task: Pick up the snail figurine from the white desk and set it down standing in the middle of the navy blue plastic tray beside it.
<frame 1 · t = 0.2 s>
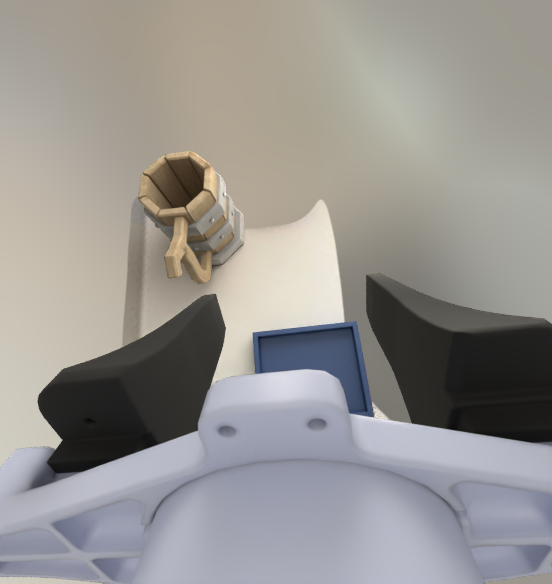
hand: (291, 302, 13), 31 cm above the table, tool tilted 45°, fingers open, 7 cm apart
tray: (309, 372, 42), on the table
tankard: (209, 252, 50), on the table
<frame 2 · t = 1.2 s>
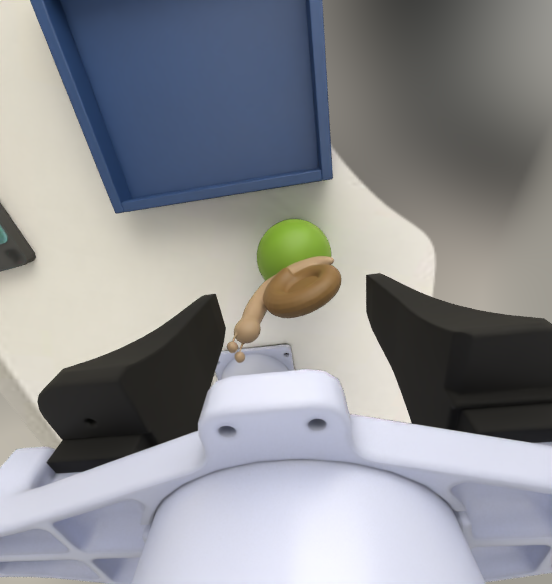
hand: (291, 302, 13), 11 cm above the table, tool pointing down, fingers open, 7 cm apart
snail figurine: (287, 247, 23), on the table
tray: (203, 90, 19), on the table
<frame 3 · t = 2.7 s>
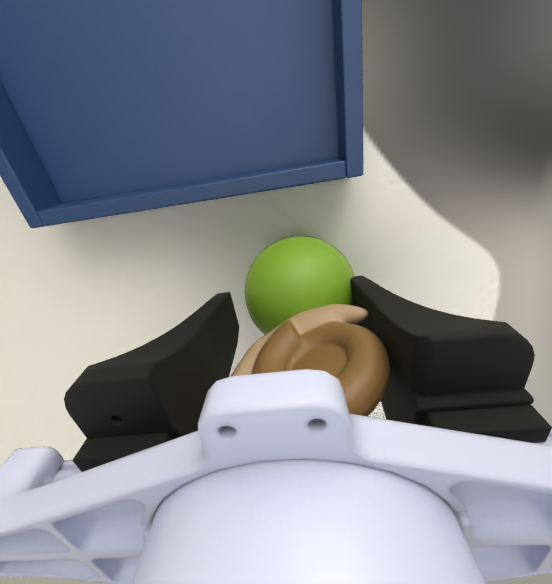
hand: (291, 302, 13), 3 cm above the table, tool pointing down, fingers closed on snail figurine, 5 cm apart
snail figurine: (289, 271, 17), on the table, touching gripper
tray: (156, 31, 11), on the table
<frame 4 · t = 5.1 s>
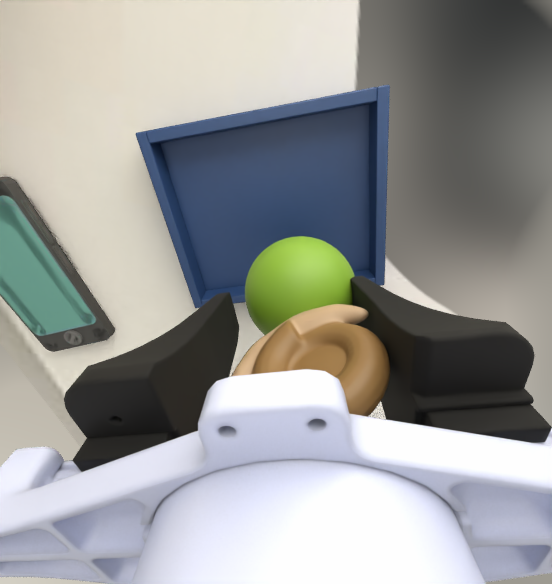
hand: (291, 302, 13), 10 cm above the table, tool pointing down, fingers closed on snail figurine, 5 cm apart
snail figurine: (289, 271, 17), point 7 cm above the table, touching gripper
tray: (274, 210, 22), on the table
smartphone: (40, 272, 25), on the table
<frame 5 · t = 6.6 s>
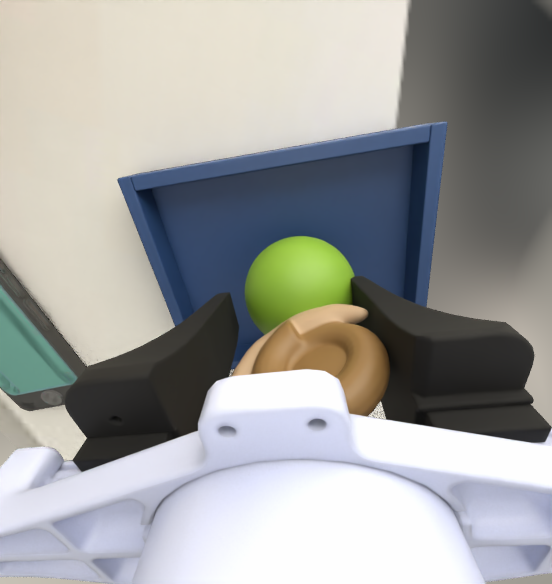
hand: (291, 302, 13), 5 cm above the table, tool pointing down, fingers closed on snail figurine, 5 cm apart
snail figurine: (289, 271, 17), point 2 cm above the table, touching gripper
tray: (290, 261, 18), on the table
smartphone: (11, 326, 21), on the table
when the fingers open (4 cm above the table, at t = 7.5 s): snail figurine stays where it is, resting on tray.
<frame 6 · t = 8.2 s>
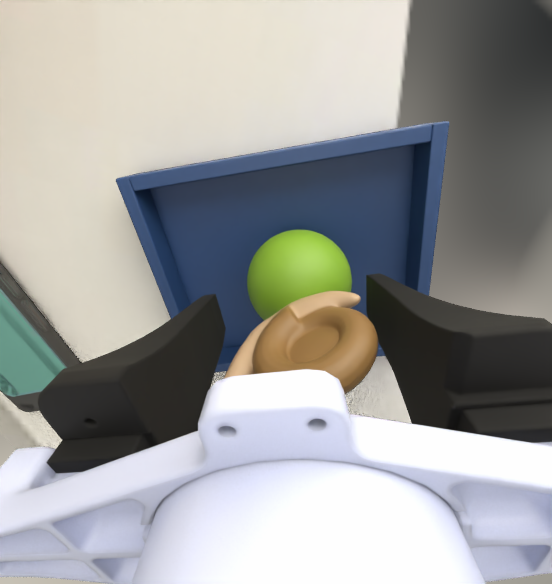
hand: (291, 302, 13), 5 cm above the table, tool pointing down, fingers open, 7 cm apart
snail figurine: (289, 264, 18), resting on tray
tray: (290, 262, 18), on the table
smartphone: (10, 327, 21), on the table
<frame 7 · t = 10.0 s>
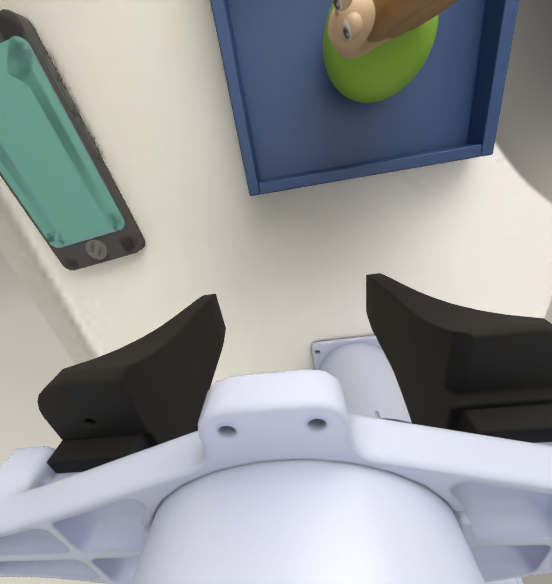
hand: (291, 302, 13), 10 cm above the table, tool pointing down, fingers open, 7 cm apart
snail figurine: (355, 59, 17), resting on tray
tray: (354, 60, 17), on the table
smartphone: (58, 163, 21), on the table
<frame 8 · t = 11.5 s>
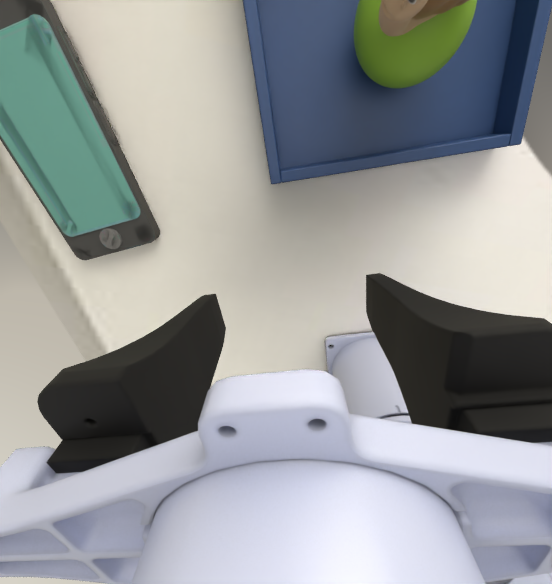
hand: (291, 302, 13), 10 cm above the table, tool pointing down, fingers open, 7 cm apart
snail figurine: (383, 44, 17), resting on tray
tray: (382, 46, 17), on the table
smartphone: (73, 149, 20), on the table
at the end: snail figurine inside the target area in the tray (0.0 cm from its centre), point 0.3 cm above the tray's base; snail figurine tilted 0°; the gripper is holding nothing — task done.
